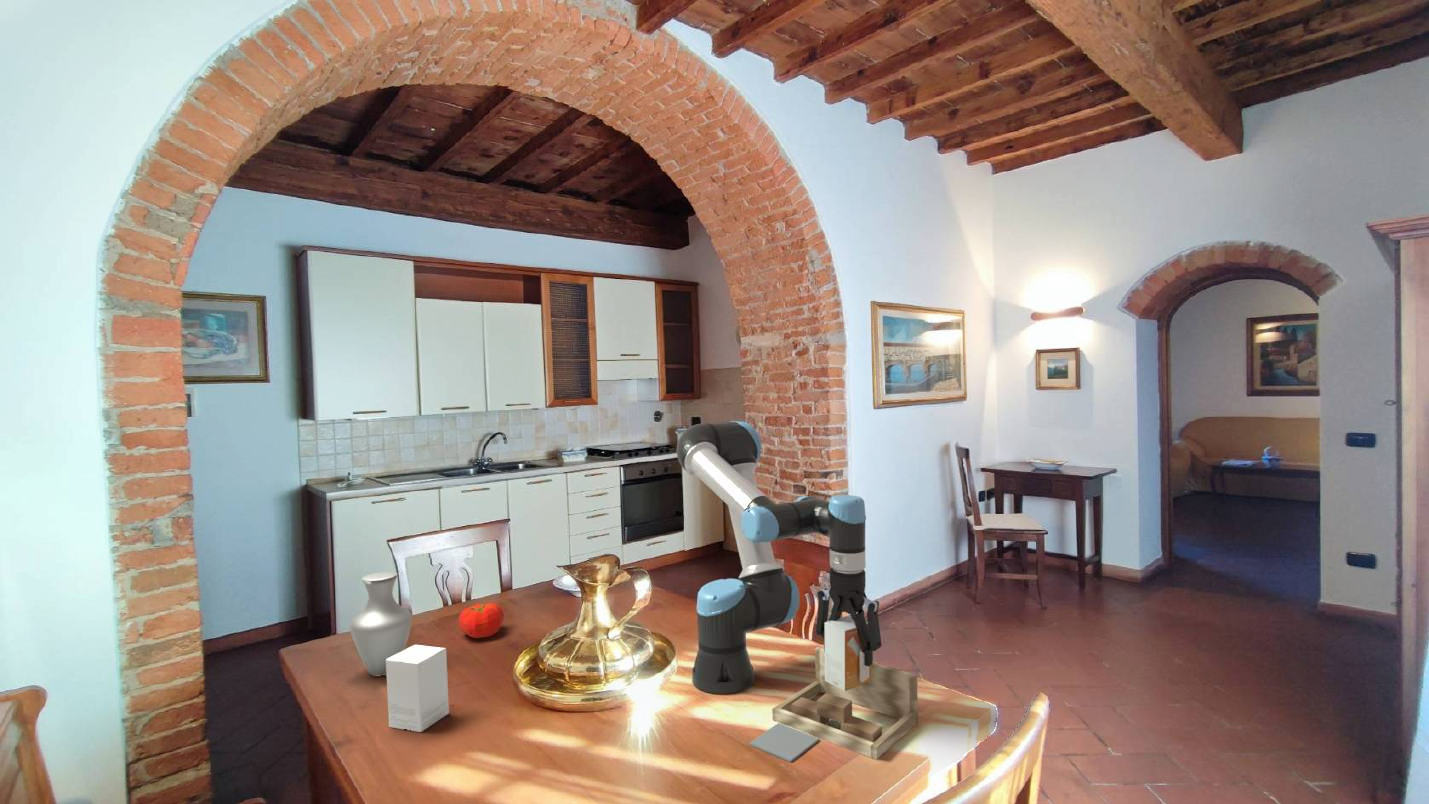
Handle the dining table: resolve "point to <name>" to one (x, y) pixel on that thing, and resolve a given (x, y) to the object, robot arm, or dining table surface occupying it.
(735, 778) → the dining table surface
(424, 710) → the supplement box
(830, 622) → the small box
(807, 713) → the offcut
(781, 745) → the mat
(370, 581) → the vase
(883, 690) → the tray
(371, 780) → the dining table surface
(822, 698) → the offcut
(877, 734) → the offcut
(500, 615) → the tomato
